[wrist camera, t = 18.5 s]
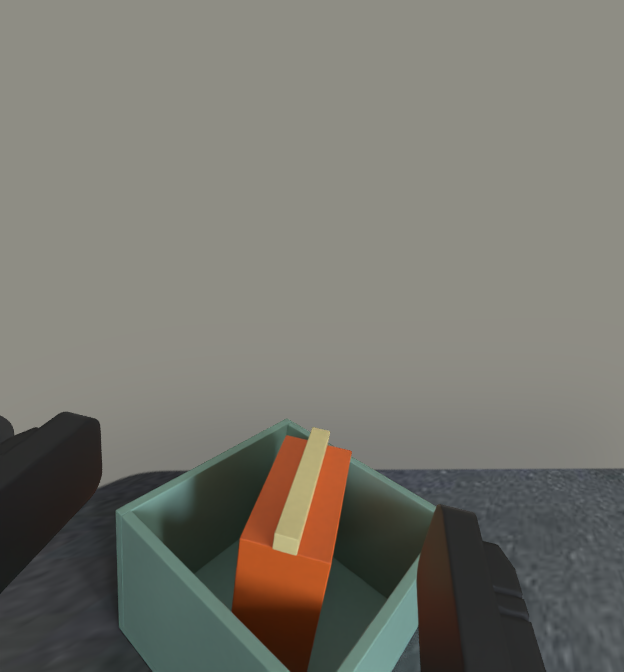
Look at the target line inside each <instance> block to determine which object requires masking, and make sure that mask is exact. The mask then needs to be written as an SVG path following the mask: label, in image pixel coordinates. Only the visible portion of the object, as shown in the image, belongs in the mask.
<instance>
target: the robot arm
mask: <svg viewBox="0 0 624 672" xmlns="http://www.w3.org/2000/svg"><path fill="white" fill-rule="evenodd" d="M101 476H102V454H101V431H100V424H99V421H98V420H97V419H95V418H91V417H87V416H83V415H78V414H74V413H70V412H62V413H60V414H58V415H56V416H55V417H54V418H52V419H51V420H49V421H48V422H47V423H45V424H44V425H43V426H41V427H40V428H37V427H35V428H32V429H30V430H27V431H25V432H22V433H20V434H17V435H15V436H12V437H10V438H8V439H6V440H5V441H4V442H2V443H1V444H0V593H1V592H2V591H3V590H4V589H5V588H6V587H7V586H8V585H9V584H10V583H11V582H12V581H13V580H14V579H15V577H16V576H17V575H18V574H19V573H20V572H21V571H22V570H23V569H24V568H25V567H26V566H27V565H28V564H29V563H30V562H31V560H32V559H33V558H34V557H35V556H36V555H37V554H38V553H39V552H40V551H41V550H42V549H43V548H44V547H45V546H46V545H47V544H48V542H49V541H50V540H51V539H52V538H53V537H54V536H55V535H56V534H57V533H58V532H59V531H60V530H61V529H62V528H63V527H64V526H65V524H66V523H67V522H68V521H69V520H70V519H71V518H72V517H73V516H74V515H75V514H76V513H77V512H78V511H79V510H80V509H81V508H82V506H83V505H84V504H85V503H86V502H87V501H88V500H89V499H90V498H91V497H92V496H93V494H94V493H95V491H96V489H97V487H98V485H99V483H100V480H101ZM416 587H417V607H418V626H419V646H420V665H421V672H546V670H545V667H544V663H543V660H542V657H541V653H540V650H539V647H538V644H537V640H536V637H535V634H534V630H533V627H532V624H531V622H529V614H528V611H527V607H526V604H525V601H524V599H522V595H523V594H522V591H521V588H520V584H519V581H518V578H517V574H516V571H515V568H514V567H513V565H512V564H511V563H510V561H509V560H508V558H507V557H506V556H505V554H504V553H503V551H502V550H501V548H500V547H499V546H498V545H497V544H493V543H489V542H485V541H482V537H481V533H480V529H479V525H478V520H477V517H476V515H475V513H473V512H470V511H466V510H462V509H458V508H454V507H450V506H446V505H441V504H438V505H437V507H436V509H435V511H434V514H433V517H432V520H431V523H430V526H429V529H428V532H427V535H426V538H425V541H424V544H423V547H422V550H421V554H420V557H419V562H418V568H417V580H416Z"/></svg>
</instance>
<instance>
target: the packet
mask: <svg viewBox="0 0 624 672" xmlns="http://www.w3.org/2000/svg"><path fill="white" fill-rule="evenodd" d="M329 435H330V431H326V430H322V429H318V428H314V427H313V428H312V430H311V433H310V436H309V438H308V440H305V439H301V438H296V437H292V436H288V435H286V436H285V439H284V441H283V443H282V445H281V448H280V450H279V452H278V454H277V456H276V459H275V461H274V463H273V465H272V468H271V470H270V472H269V474H268V476H267V479H266V481H265V483H264V485H263V488H262V490H261V492H260V494H259V496H258V499H257V501H256V503H255V505H254V508H253V510H252V512H251V514H250V516H249V519H248V521H247V523H246V525H245V528H244V530H243V532H242V534H241V536H240V539H239V548H238V557H237V566H236V575H235V584H234V592H233V601H232V610H231V612H232V613H233V614H234V615H235V616H236V617H237V618H238V619H239V620H240V621H241V622H242V623H243V624H244V625H245V626H246V627H247V628H248V629H249V630H250V631H251V632H252V633H253V634H254V635H255V636H256V637H257V638H258V639H259V640H260V641H261V643H262V644H263V645H264V646H265V647H266V648H267V649H268V650H269V651H270V652H271V653H272V654H273V655H274V656H275V657H276V658H277V659H278V660H279V661H280V662H281V663H282V664H283V665H284V666H285V667H286V668H287V669H288V670H289V671H290V672H307V670H308V665H309V661H310V657H311V652H312V648H313V643H314V639H315V634H316V630H317V626H318V621H319V617H320V612H321V608H322V603H323V599H324V595H325V590H326V586H327V581H328V577H329V572H330V568H331V563H332V558H333V553H334V547H335V542H336V536H337V531H338V525H339V520H340V514H341V509H342V503H343V498H344V492H345V487H346V481H347V476H348V470H349V465H350V459H351V454H352V452H351V451H350V450H345V449H341V448H337V447H333V446H329V445H328V440H329Z"/></svg>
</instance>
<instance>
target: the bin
mask: <svg viewBox="0 0 624 672" xmlns="http://www.w3.org/2000/svg"><path fill="white" fill-rule="evenodd" d="M310 433H311V432H309V431H307V430H306V429H304V428H302V427H301V426H299V425H297V424H296V423H294V422H292V421H291V420H289V419H285V420H283V421H281V422H279V423H277V424H275V425H274V426H272V427H270V428H268V429H266V430H264V431H262V432H261V433H259V434H257V435H255V436H253V437H251V438H249V439H248V440H246V441H244V442H242V443H240V444H238V445H237V446H234V447H233V448H231V449H229V450H227V451H225V452H223V453H221V454H220V455H218V456H216V457H214V458H212V459H210V460H208V461H206V462H205V463H203V464H201V465H199V466H197V467H195V468H193V469H192V470H190V471H188V472H186V473H184V474H182V475H180V476H178V477H177V478H175V479H173V480H171V481H169V482H167V483H165V484H164V485H162V486H160V487H158V488H156V489H154V490H152V491H151V492H149V493H147V494H145V495H143V496H141V497H139V498H137V499H136V500H134V501H132V502H130V503H128V504H126V505H124V506H123V507H121V508H119V509H117V510H116V541H117V575H118V610H119V628H120V629H121V631H122V632H123V633H124V635H125V636H126V637H127V639H128V640H129V641H130V642H131V644H132V645H133V646H134V648H135V649H136V650H137V652H138V653H139V654H140V656H141V657H142V658H143V660H144V661H145V662H146V663H147V665H148V666H149V667H150V669H151V670H152V671H153V672H290V671H289V670H288V669H287V668H286V667H285V666H284V665H283V664H282V663H281V662H280V661H279V660H278V659H277V658H276V657H275V656H274V655H273V654H272V653H271V652H270V651H269V650H268V649H267V648H266V647H265V646H264V645H263V644H262V643H261V641H260V640H259V639H258V638H257V637H256V636H255V635H254V634H253V633H252V632H251V631H250V630H249V629H248V628H247V627H246V626H245V625H244V624H243V623H242V622H241V621H240V620H239V619H238V618H237V617H236V616H235V615H234V614H233V613H232V612H231V610H232V601H233V592H234V584H235V575H236V566H237V557H238V548H239V539H240V536H241V534H242V532H243V530H244V528H245V525H246V523H247V521H248V519H249V516H250V514H251V512H252V510H253V508H254V505H255V503H256V501H257V499H258V496H259V494H260V492H261V490H262V488H263V485H264V483H265V481H266V479H267V476H268V474H269V472H270V470H271V468H272V465H273V463H274V461H275V459H276V456H277V454H278V452H279V450H280V448H281V445H282V443H283V441H284V439H285V436H286V435H288V436H292V437H296V438H301V439H305V440H308V438H309V436H310ZM328 445H329V446H333V445H331V444H329V443H328ZM333 447H334V446H333ZM435 509H436V506H434V505H432V504H431V503H429V502H427V501H426V500H424V499H422V498H421V497H419V496H417V495H415V494H414V493H412V492H410V491H409V490H407V489H405V488H404V487H402V486H400V485H399V484H397V483H395V482H394V481H392V480H390V479H388V478H387V477H385V476H383V475H382V474H380V473H378V472H377V471H375V470H373V469H371V468H370V467H368V466H367V465H365V464H363V463H361V462H360V461H358V460H356V459H355V458H353V457H351V459H350V465H349V470H348V476H347V481H346V487H345V492H344V498H343V503H342V509H341V514H340V520H339V525H338V531H337V536H336V542H335V547H334V553H333V558H332V563H331V568H330V572H329V577H328V581H327V586H326V590H325V595H324V599H323V603H322V608H321V612H320V617H319V621H318V626H317V630H316V634H315V639H314V643H313V648H312V652H311V657H310V661H309V665H308V670H307V672H391V671H392V670H393V668H394V666H395V665H396V663H397V661H398V659H399V658H400V656H401V654H402V653H403V651H404V649H405V648H406V646H407V644H408V643H409V641H410V639H411V637H412V636H413V634H414V632H415V631H416V629H417V627H418V607H417V587H416V580H417V568H418V562H419V557H420V554H421V550H422V547H423V544H424V541H425V538H426V535H427V532H428V529H429V526H430V523H431V520H432V517H433V514H434V511H435Z"/></svg>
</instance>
